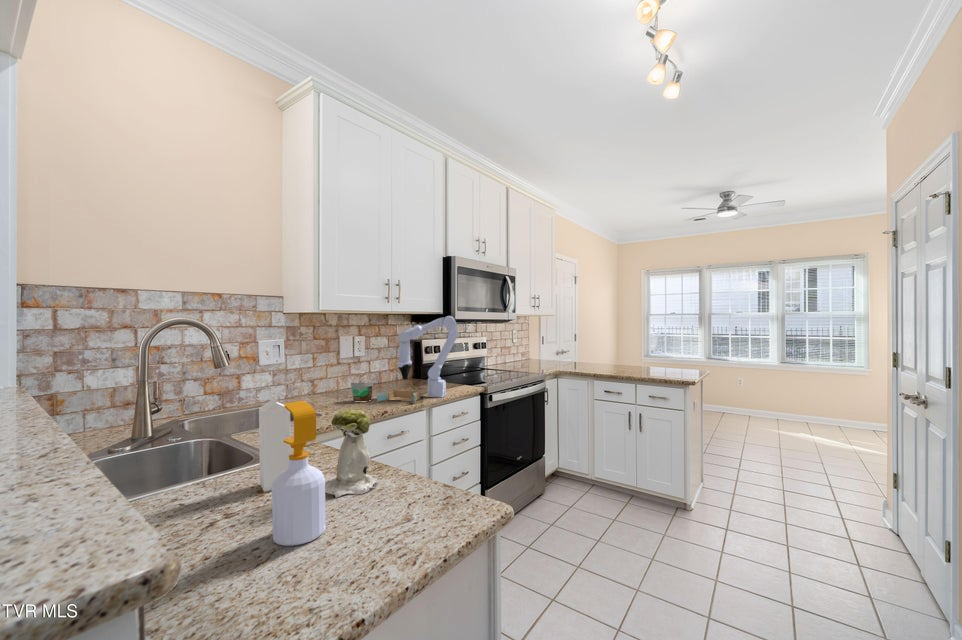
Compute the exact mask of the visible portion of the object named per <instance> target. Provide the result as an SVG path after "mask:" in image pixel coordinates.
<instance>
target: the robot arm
mask: <svg viewBox="0 0 962 640" xmlns="http://www.w3.org/2000/svg"><path fill="white" fill-rule="evenodd" d="M436 327H445V329H446V330H447V333H448V336H447V337H446V338H447V339H446V341H445V342H444V344H443V346H442V348H441V350H440V352H439V353H438V356H437V358H436V360H435V361H434V364H433V365H432V366H431V367H430V368H429V370H428V371H427V376H428V378H427V394H426V395H425V396H424V397H425V398H444V397H445V396H447V385H446V384H447V382H446V379H442V377H441V376H440V374H441V371H442V367H443V366H444V364H445V362H446V360H447V358H448V356H449V355H450V352H451V350H452V348H453V346H454V344H455V343H456V340H457V338H458V336H459V332H458V331H459V330H458V325H457V321H456V319H455V318H454V317H453V316H451V315H447V316H445V317H444V316H443V317H439V318H436V319H434V320H432V321H431V322H428V323H425V324H424V325H419V324H418V325H416V324H415V325H413V327H410V328H406V329H405V331H404V330H403V331H401V332H400V333H399V334H398V340H399V345H398V351H399V353H398V354H399V355H398V356H399V361H398V362H397V368H398V369H399V371H400V374H401V377H402V380H408V379H409V374H410V370H411V368H412V363H413V361H412V360H411V345H410V342H411V341H410V340H414V339H417V338H418V337H421V336H423V335H424V332H426V331H428V330H432V329H433V328H436Z"/></svg>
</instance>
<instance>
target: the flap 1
mask: <svg viewBox="0 0 962 640" xmlns="http://www.w3.org/2000/svg"><path fill="white" fill-rule="evenodd" d="M386 400H387V401H388V392H383V393H377V394H376V402H382V401H386Z"/></svg>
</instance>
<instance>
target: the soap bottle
mask: <svg viewBox="0 0 962 640" xmlns="http://www.w3.org/2000/svg"><path fill="white" fill-rule="evenodd" d="M283 405H284V407H285V408H286V409H287V410H288V411H289V412H290V415H291V416H292V417H293V437H290V438H287V439H284V440H283V442H284V443H287V444H290V447H291V449H293V453H291V455H289V468H288V469H287V470H285V471H284V472H282V473H281V474H280V475H279V476H278V477H277V478H276V479H275V480H274V482H273V485H272V490H271V501H272V503H271V504H272V505H271V506H272V507H271V508H272V510H271V511H272V513H271V514H272V515H271V516H272V517H271V519H272V522H271V523H272V539H273V542H274V543H276V544H277V545H279V546H284V547H288V546H289V547H292V546H294V545H295V546H300V545H303V544H307V543H309V542H312V541H314V540H316V539H318V538H320V536H322V535H323V534H324V532H325V531H326V528H327V527H326V526H327V525H326V523H327V522H326V519H327V516H326V512H327V511H326V492H325V480H326V478H325V475H324V473H323V472H322V471H321V470H320V469H318V468H317V467H315V466H312V465H310V464H309V452H306V451H304V448H305V447H306V446H307V443H309V442H312V441H315V440H316V439H317V413H316V410H315V408H314V407H313V406H312V405H311V404H310V403H308V402H307V401H306V400H305V401H304V400H299V401H292V402H286V403H284V404H283Z"/></svg>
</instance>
